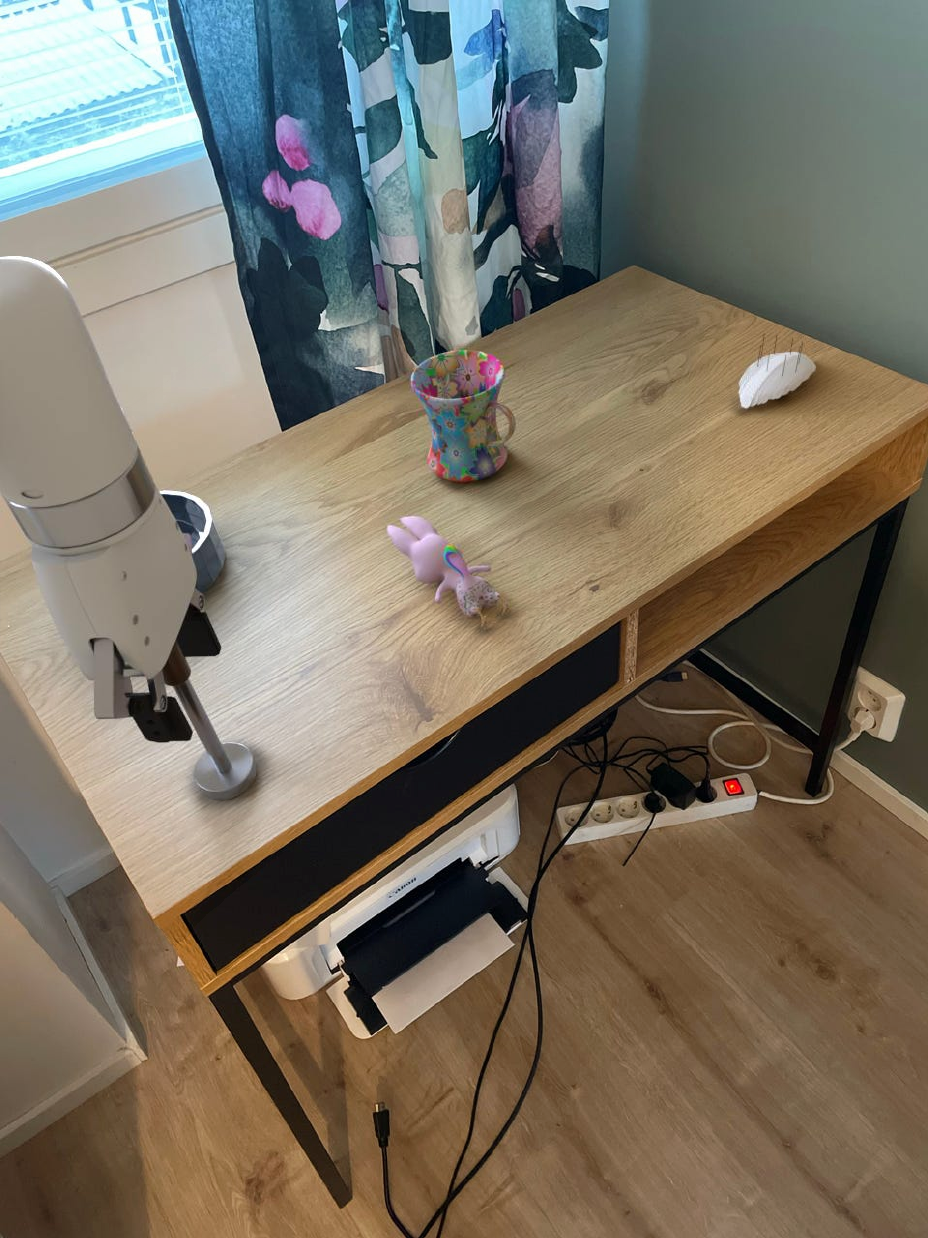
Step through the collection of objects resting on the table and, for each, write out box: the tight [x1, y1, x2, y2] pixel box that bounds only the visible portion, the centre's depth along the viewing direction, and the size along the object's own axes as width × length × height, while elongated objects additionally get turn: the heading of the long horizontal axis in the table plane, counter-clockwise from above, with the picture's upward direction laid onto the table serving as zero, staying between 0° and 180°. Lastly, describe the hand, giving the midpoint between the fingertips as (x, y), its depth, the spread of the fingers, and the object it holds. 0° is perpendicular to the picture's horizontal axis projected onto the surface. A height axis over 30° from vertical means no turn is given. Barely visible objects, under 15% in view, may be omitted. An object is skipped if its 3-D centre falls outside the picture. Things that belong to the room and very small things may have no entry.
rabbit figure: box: [386, 515, 512, 630], centre depth 80 cm, size 6×6×15 cm
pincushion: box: [737, 333, 817, 409], centre depth 97 cm, size 12×6×6 cm, turn 133°
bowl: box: [159, 490, 227, 594], centre depth 86 cm, size 13×13×5 cm
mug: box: [410, 349, 517, 483], centre depth 91 cm, size 12×9×11 cm
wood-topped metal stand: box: [162, 640, 258, 801], centre depth 65 cm, size 5×5×15 cm
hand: (185, 692), depth 63 cm, fingers open, 6 cm apart
